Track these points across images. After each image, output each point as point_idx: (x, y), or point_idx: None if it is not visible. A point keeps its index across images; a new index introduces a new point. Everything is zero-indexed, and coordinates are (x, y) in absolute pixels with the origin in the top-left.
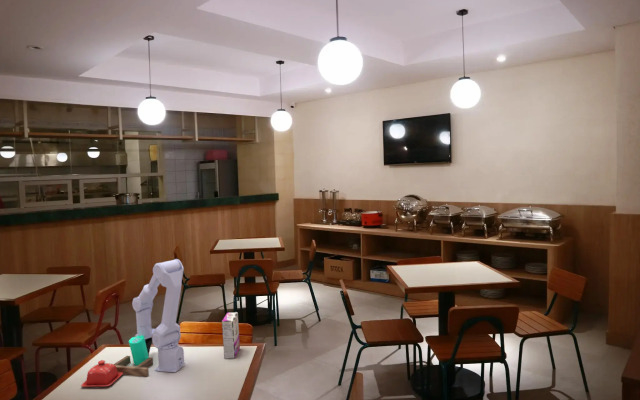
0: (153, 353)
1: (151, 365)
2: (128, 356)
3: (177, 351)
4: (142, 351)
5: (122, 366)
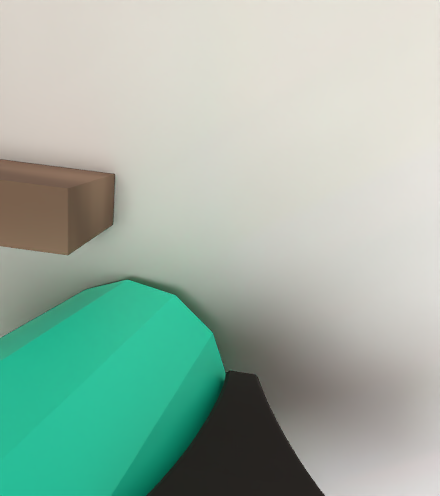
0: (427, 382)
1: None
2: (40, 238)
3: None
4: None
5: None
